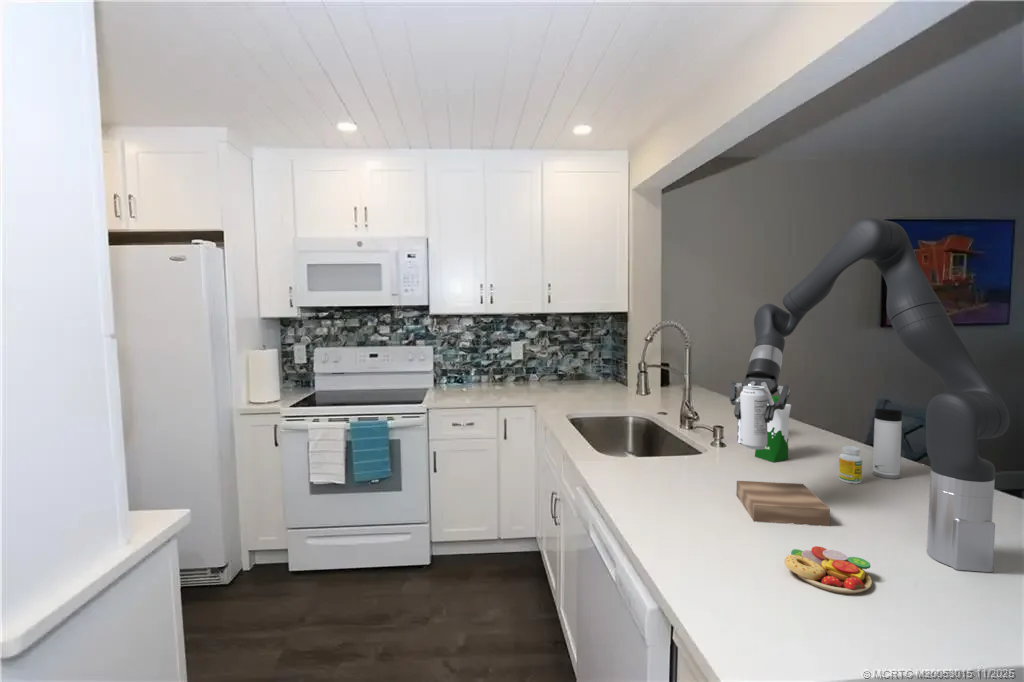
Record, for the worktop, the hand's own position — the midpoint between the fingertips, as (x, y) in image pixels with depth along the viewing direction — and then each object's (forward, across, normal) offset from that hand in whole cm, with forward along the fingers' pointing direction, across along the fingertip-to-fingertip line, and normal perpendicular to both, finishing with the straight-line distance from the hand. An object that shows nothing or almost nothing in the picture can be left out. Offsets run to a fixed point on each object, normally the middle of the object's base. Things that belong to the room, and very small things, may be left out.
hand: (752, 419), depth 121 cm
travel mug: (-18, +24, +50) cm, 59 cm away
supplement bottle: (-10, +16, +42) cm, 47 cm away
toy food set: (+33, +19, 0) cm, 38 cm away
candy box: (-30, -15, +61) cm, 70 cm away
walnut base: (+13, +5, +19) cm, 23 cm away
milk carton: (-17, -6, +49) cm, 52 cm away
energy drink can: (+4, 0, +6) cm, 8 cm away
